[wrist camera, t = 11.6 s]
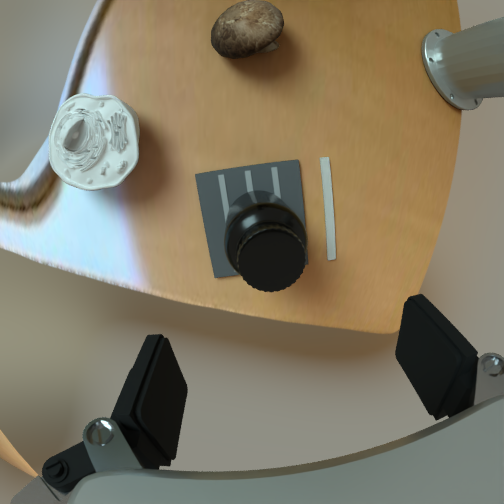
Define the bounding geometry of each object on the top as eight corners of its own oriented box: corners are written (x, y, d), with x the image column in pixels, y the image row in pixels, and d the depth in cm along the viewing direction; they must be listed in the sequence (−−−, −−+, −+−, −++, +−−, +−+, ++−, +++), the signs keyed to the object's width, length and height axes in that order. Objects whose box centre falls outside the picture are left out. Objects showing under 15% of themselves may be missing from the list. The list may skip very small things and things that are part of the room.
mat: (297, 159, 29) (298, 159, 28) (307, 262, 33) (308, 264, 32) (195, 174, 29) (194, 174, 28) (215, 276, 33) (214, 278, 32)
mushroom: (309, 50, 22) (282, 12, 16) (244, 86, 25) (207, 58, 20) (281, 14, 23) (254, -19, 17) (226, 46, 27) (194, 20, 21)
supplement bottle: (248, 261, 32) (253, 320, 20) (214, 210, 30) (199, 247, 18) (301, 230, 31) (335, 275, 19) (270, 177, 29) (290, 192, 17)
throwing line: (328, 157, 29) (328, 157, 28) (335, 258, 33) (335, 259, 32) (319, 157, 29) (320, 157, 28) (327, 259, 33) (328, 260, 32)
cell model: (125, 205, 29) (99, 219, 23) (58, 155, 27) (24, 159, 20) (173, 129, 27) (155, 123, 21) (98, 83, 24) (69, 71, 18)
